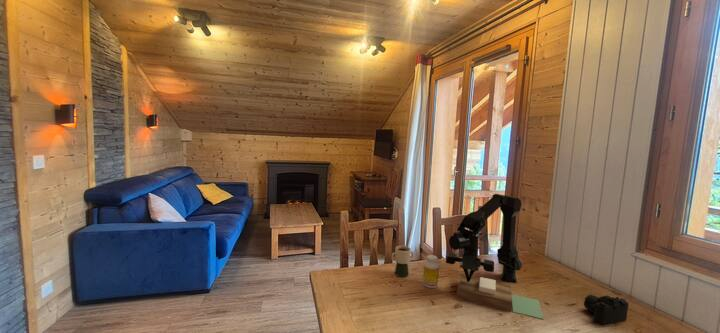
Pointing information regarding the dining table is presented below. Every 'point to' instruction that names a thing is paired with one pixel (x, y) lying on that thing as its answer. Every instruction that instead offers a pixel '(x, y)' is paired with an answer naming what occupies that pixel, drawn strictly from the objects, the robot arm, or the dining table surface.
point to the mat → (526, 306)
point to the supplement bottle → (431, 272)
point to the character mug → (402, 260)
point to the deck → (485, 294)
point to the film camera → (607, 309)
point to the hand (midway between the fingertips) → (468, 281)
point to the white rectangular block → (487, 285)
